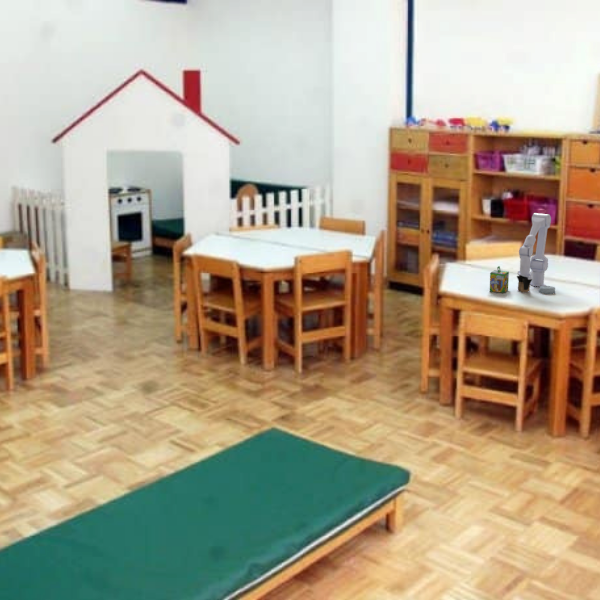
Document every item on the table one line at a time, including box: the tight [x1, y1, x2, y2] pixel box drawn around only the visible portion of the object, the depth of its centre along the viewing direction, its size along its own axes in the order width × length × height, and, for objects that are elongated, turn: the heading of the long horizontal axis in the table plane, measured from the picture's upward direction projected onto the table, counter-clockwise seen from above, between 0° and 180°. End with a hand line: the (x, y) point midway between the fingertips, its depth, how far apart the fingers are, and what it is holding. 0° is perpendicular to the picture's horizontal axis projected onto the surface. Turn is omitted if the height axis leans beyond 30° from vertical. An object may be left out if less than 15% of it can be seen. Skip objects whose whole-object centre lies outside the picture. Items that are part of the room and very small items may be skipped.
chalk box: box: [489, 265, 510, 294], centre depth 522 cm, size 9×9×15 cm
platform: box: [538, 285, 556, 295], centre depth 519 cm, size 9×9×3 cm
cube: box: [517, 281, 531, 293], centre depth 522 cm, size 5×5×5 cm
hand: (523, 288), depth 523 cm, fingers closed on cube, 5 cm apart
